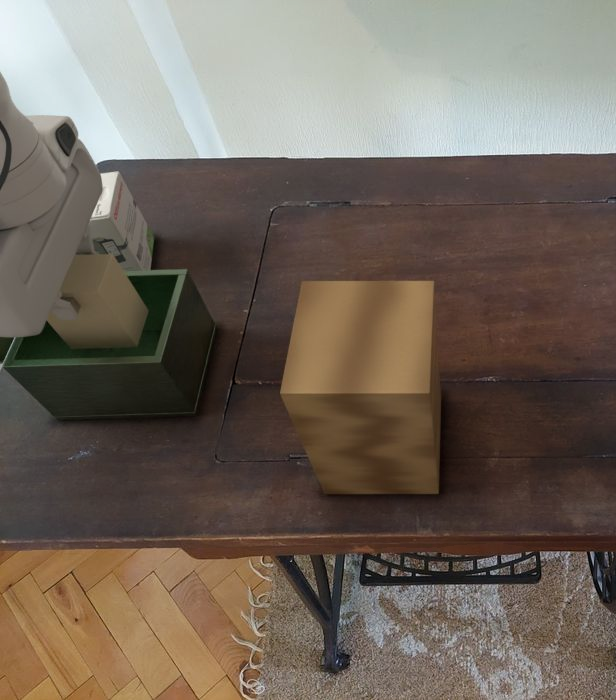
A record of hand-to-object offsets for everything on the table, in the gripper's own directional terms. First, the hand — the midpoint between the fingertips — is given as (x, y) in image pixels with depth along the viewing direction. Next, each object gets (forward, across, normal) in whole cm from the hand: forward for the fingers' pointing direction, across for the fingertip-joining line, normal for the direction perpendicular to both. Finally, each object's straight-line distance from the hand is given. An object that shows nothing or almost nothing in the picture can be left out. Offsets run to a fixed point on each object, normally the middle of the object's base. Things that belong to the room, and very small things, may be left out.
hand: (81, 289), depth 65 cm
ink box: (+15, +18, +6) cm, 24 cm away
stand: (+15, -10, -29) cm, 34 cm away
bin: (+15, 0, 0) cm, 15 cm away
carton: (+7, 0, 0) cm, 7 cm away
